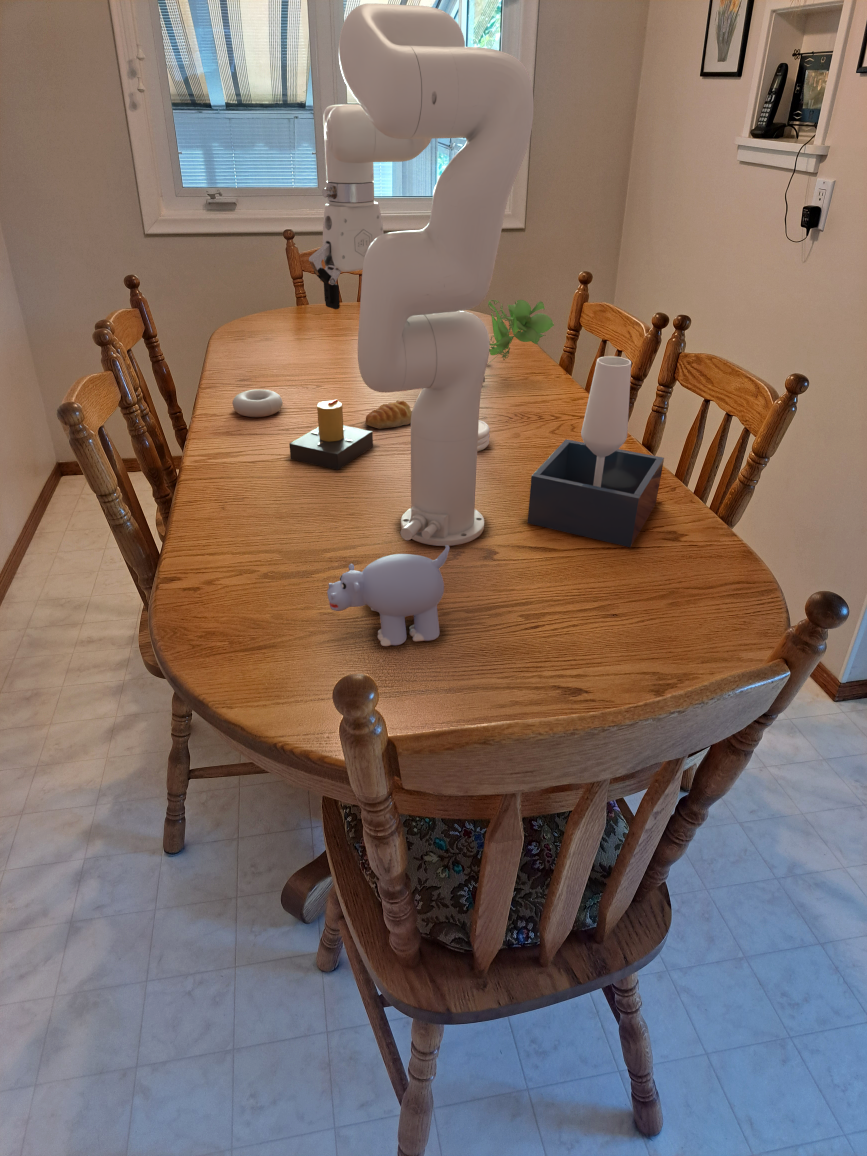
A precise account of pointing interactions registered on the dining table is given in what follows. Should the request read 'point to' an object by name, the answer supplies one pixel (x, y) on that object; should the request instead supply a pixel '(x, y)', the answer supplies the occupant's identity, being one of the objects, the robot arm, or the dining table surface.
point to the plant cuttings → (518, 326)
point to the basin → (595, 493)
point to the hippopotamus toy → (395, 594)
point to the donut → (257, 403)
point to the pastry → (390, 415)
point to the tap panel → (331, 448)
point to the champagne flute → (607, 410)
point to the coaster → (483, 435)
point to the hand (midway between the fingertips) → (355, 303)
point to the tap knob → (330, 420)
